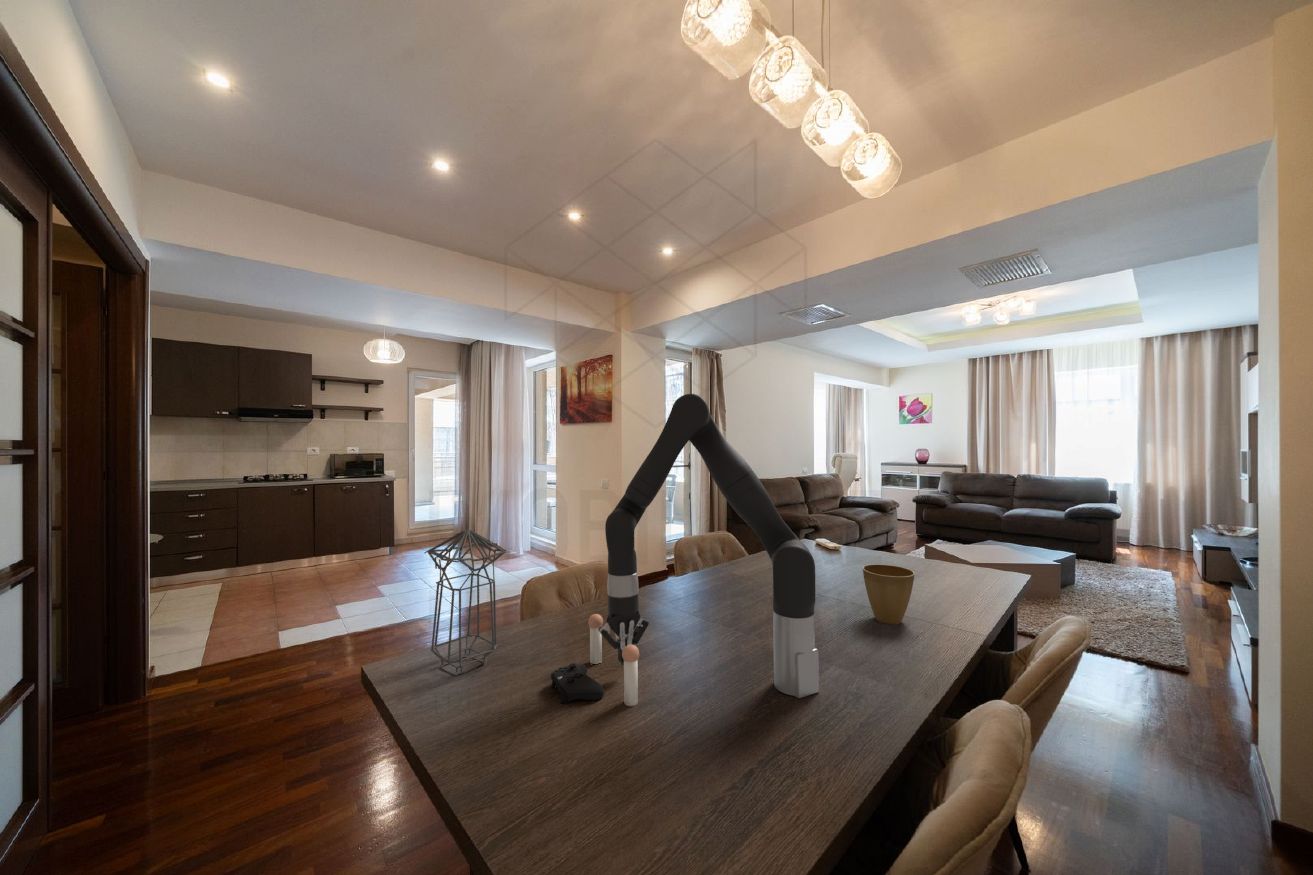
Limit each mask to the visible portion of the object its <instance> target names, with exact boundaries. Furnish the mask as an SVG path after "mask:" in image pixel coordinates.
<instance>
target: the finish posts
mask: <svg viewBox="0 0 1313 875" xmlns="http://www.w3.org/2000/svg"><path fill="white" fill-rule="evenodd" d="M603 625H604V618H603V617H602V616H601V615H600V614H599V613H594V614H592V615H590V617H589V618H588V626H589V656H590V657H589V660H590V661H589V664H590V663H593V664H598V663H601V664H602V663H603V654H602V653H603V649H602V648H603V647H602V645H603V644H602V642H603V639H602V637H603V636H602V635H601V634H600V633H599V631H598V629H599V628H600V627H603ZM622 657H623V660H624V665H623V695H624V696H623V700H624V703H623V704H624V705H625V706H627V707H635V706H637V705H638V703H639V685H638V684H639V680H638V679H639V676H638V671H639V670H638V669H639V668H638V667H639V666H638V663H639V662H638V660H639V658H640V650H639V648H638V647H637V646H636V644H634V645H632V644H630V645H627V646H625V647H624V649H623V651H622Z"/></svg>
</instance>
